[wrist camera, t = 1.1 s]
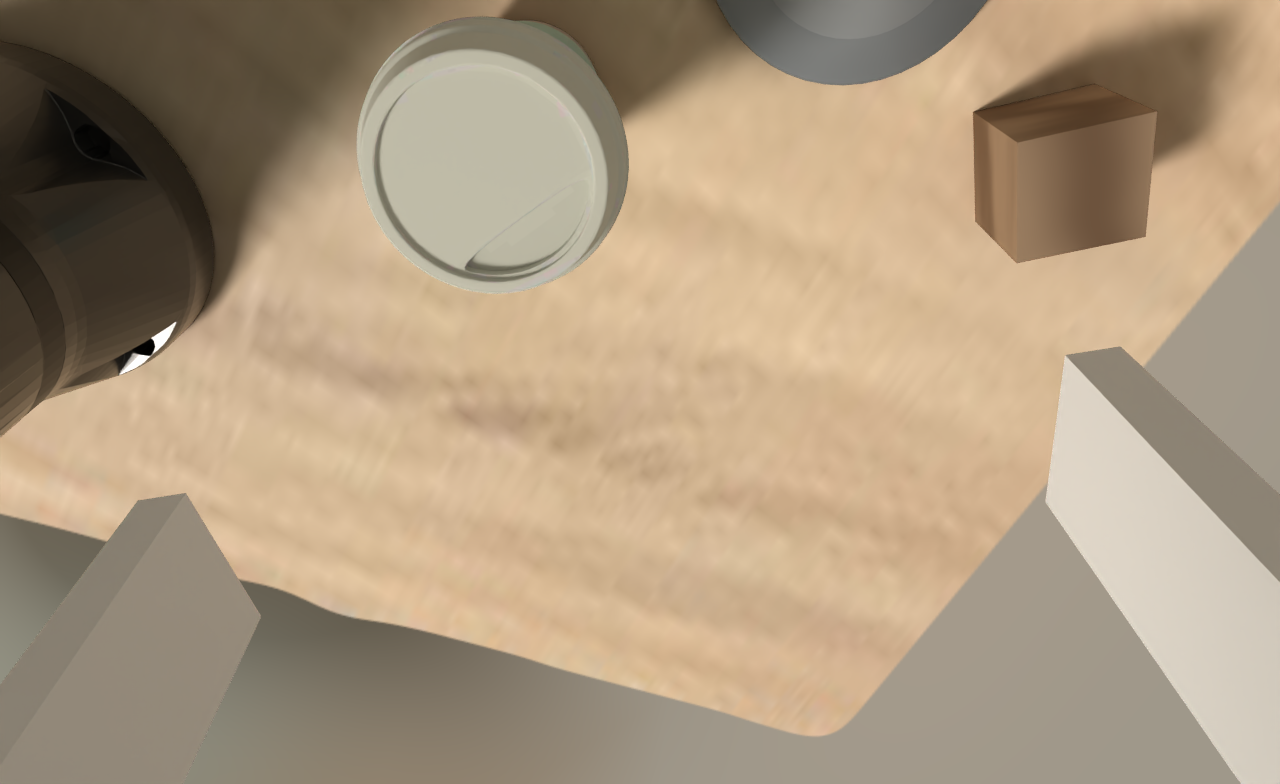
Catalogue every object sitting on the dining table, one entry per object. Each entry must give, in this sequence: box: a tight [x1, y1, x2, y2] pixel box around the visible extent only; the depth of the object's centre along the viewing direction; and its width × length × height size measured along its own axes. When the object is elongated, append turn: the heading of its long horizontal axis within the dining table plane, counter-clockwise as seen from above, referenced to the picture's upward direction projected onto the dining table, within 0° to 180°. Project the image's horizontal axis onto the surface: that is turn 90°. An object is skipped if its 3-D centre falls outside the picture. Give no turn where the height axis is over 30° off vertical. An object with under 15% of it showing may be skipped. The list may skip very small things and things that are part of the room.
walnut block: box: [973, 84, 1157, 263], centre depth 34 cm, size 5×5×5 cm
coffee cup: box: [357, 17, 629, 294], centre depth 29 cm, size 9×8×12 cm
